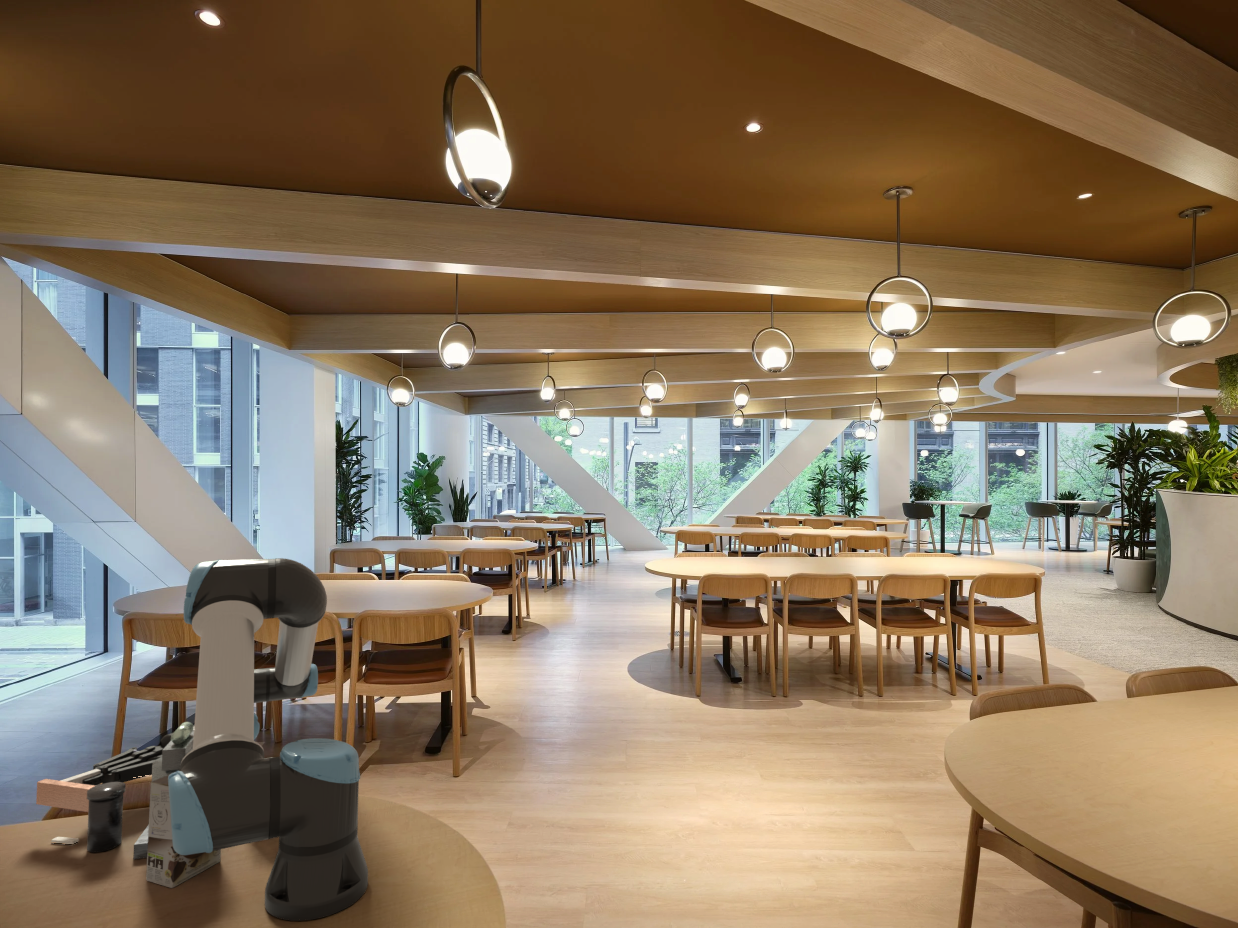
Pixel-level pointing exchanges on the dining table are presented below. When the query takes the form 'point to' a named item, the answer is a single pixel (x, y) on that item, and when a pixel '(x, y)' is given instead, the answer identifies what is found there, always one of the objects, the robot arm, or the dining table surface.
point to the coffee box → (169, 844)
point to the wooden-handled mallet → (89, 808)
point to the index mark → (65, 840)
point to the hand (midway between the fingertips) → (59, 789)
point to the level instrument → (167, 771)
